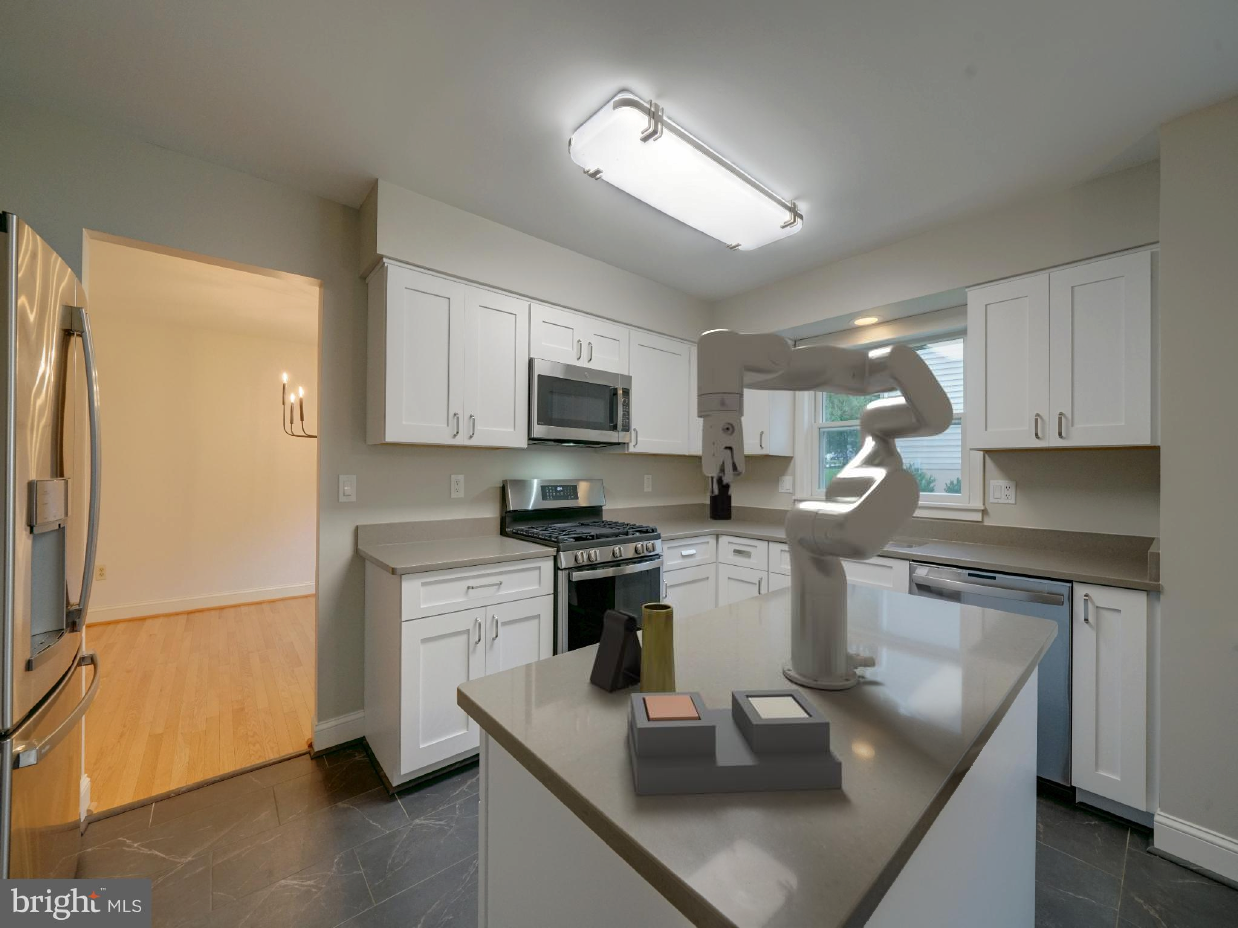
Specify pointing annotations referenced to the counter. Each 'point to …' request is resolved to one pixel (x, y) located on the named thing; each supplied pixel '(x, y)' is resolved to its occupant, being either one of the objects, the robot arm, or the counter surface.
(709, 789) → the button panel
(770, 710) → the ivory button
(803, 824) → the counter surface
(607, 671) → the phone stand
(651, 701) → the terracotta button
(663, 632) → the vase
